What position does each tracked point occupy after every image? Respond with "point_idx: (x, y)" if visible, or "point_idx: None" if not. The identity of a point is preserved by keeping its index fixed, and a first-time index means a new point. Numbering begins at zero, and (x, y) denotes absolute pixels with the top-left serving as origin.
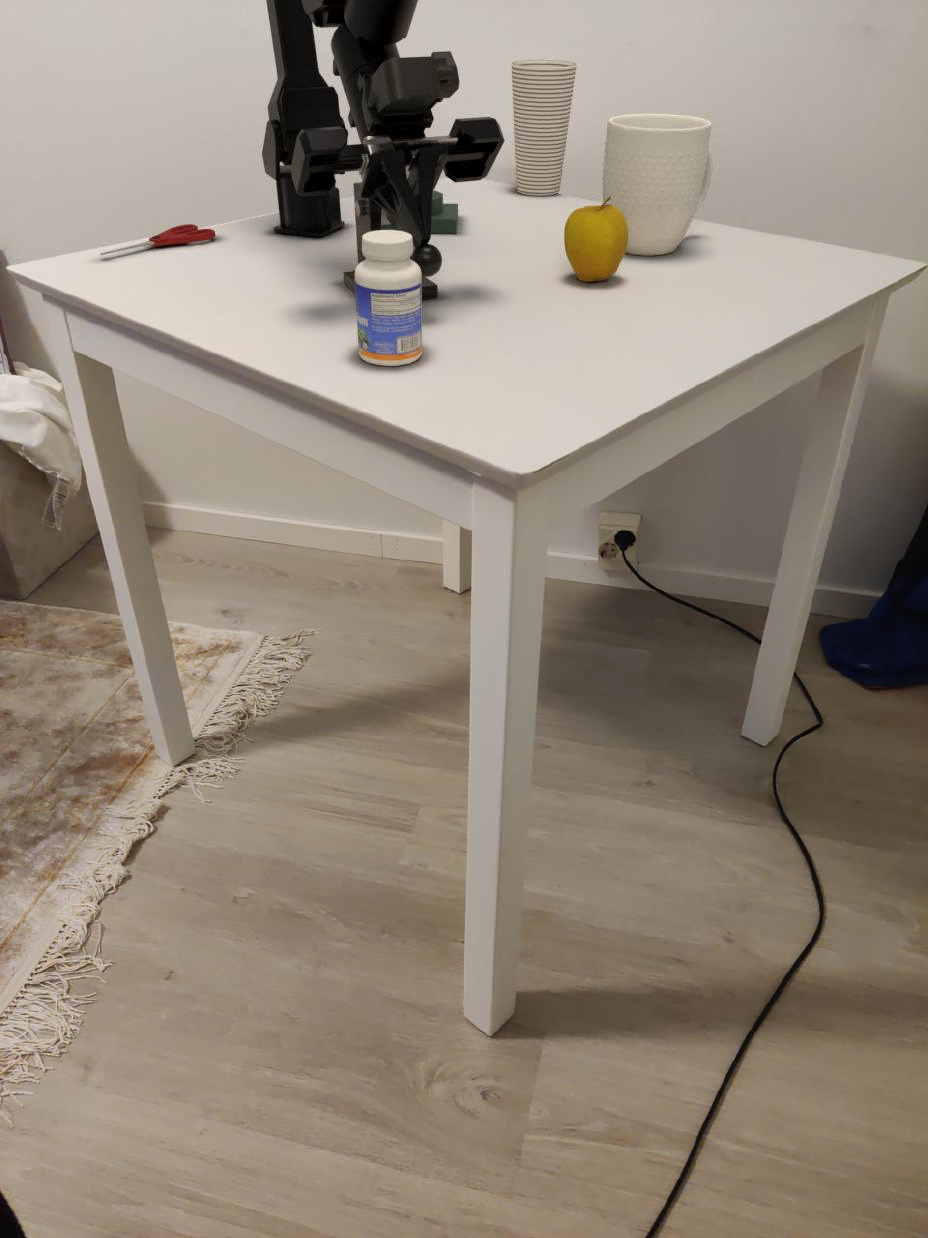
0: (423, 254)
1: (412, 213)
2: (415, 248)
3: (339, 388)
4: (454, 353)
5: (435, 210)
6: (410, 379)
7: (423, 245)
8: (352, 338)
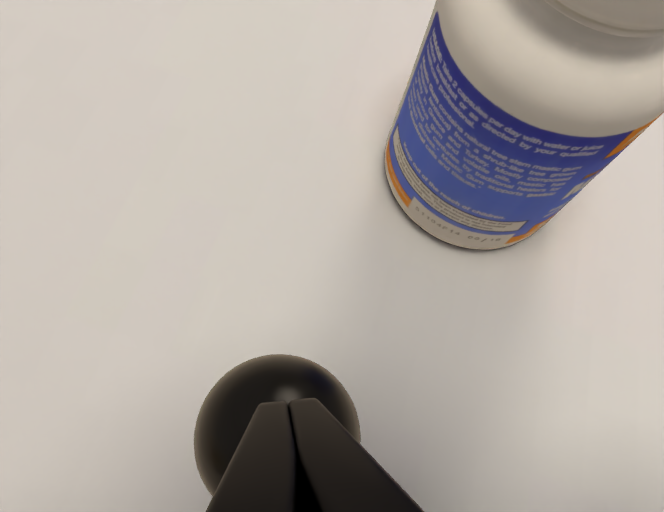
0: (316, 368)
1: (376, 484)
2: None
3: None
4: (292, 132)
5: None
6: None
7: None
8: (556, 345)
